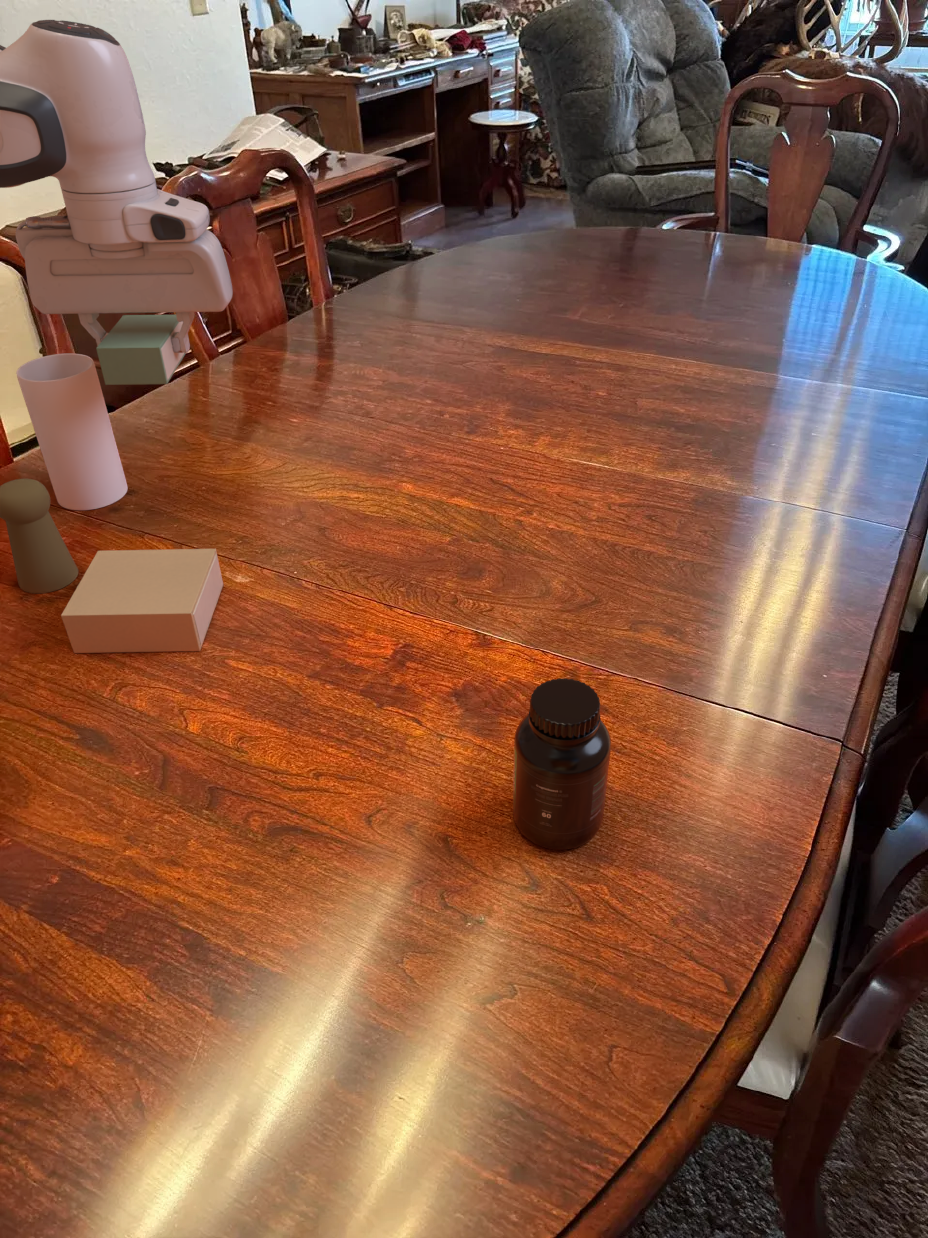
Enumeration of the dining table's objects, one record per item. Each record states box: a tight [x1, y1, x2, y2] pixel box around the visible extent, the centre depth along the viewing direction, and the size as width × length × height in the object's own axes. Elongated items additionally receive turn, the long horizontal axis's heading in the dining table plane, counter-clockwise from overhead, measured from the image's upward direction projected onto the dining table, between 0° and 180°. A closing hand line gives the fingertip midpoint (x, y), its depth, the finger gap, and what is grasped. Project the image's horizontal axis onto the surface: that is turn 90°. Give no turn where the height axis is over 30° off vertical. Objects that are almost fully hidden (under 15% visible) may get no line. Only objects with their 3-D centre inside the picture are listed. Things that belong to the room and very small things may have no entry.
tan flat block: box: [60, 548, 224, 654], centre depth 90 cm, size 12×11×4 cm
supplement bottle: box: [512, 677, 612, 851], centre depth 67 cm, size 7×7×12 cm
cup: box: [15, 353, 129, 511], centre depth 107 cm, size 8×8×16 cm
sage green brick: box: [95, 314, 187, 386], centre depth 99 cm, size 7×10×4 cm, turn 1°
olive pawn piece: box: [0, 478, 79, 594], centre depth 94 cm, size 6×6×11 cm
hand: (145, 351), depth 99 cm, fingers closed on sage green brick, 6 cm apart
